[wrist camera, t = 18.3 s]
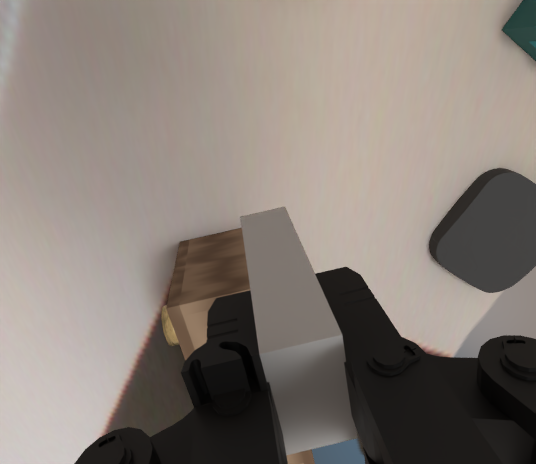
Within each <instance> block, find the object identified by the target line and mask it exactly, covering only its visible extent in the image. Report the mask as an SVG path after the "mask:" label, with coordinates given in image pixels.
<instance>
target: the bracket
mask: <svg viewBox="0 0 536 464" xmlns="http://www.w3.org/2000/svg"><path fill="white" fill-rule="evenodd" d="M502 31H503V32H504V33H505V34H507V35H508V36H509V37H510V38H511V39H512V40H513V41H514V42H515V43H516V44H518V45H519V46H520V47H521V48H522V49H523V50H524V51H525V52H526V53H527V54H529V55H530V56H531V57H532V58H533V59H534V60H535V61H536V0H523V1H522V3H521V4H520V5H519V7H518V8H517V9H516V11H515V12H514V14H513V15H512V16H511V18H510V19H509V20H508V22H507V23H506V24H505V26H504V27H503V29H502Z"/></svg>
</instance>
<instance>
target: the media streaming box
mask: <svg viewBox="0 0 536 464" xmlns="http://www.w3.org/2000/svg"><path fill="white" fill-rule="evenodd" d="M430 252H431V255H432V256H433V258H434V259H435V260H436V261H437V262H438V263H439V264H440V265H442V266H443V267H444V268H445V269H447V270H448V271H450V272H451V273H453V274H454V275H456V276H457V277H459V278H460V279H462V280H463V281H465V282H467V283H468V284H470V285H472V286H474V287H476V288H478V289H480V290H482V291H484V292H487V293H494V292H499V291H502V290H505V289H507V288H510V287H511V286H513V285H514V284H516V283H517V282H518V281H520V280H521V279H522V278H523V277H524V276H525V275H526V274H528V273H529V272H530V271H531V270H532V269H533V268H534V267H535V266H536V184H535V183H533V182H532V181H530V180H529V179H527V178H526V177H524V176H522V175H521V174H518V173H516V172H513V171H511V170H508V169H502V168H499V169H493V170H490V171H488V172H486V173H484V174H482V175H481V176H480V177H478V178H477V179H476V181H475V182H474V183H473V184H472V185H471V186H470V187H469V188H468V190H467V191H466V192H465V193H464V194H463V195H462V196H461V198H460V199H459V200H458V201H457V202H456V204H455V205H454V206H453V207H452V209H451V210H450V211H449V212H448V214H447V215H446V216H445V217H444V219H443V220H442V221H441V223H440V224H439V225H438V227H437V228H436V229H435V231H434V232H433V234H432V236H431V239H430Z"/></svg>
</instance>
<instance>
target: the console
mask: <svg viewBox="0 0 536 464" xmlns="http://www.w3.org/2000/svg"><path fill="white" fill-rule="evenodd" d="M249 290H250V283H249V276H248V269H247V261H246V254H245V247H244V240H243V233H242V228H239V229H235V230H230V231H226V232H222V233H217V234H213V235H208V236H204V237H200V238H195V239H191V240H186V241H182V242H180V244H179V249H178V254H177V258H176V263H175V268H174V273H173V278H172V282H171V287H170V292H169V297H168V302H167V306H166V309H167V312H168V315H169V318H170V320H171V323H172V326H173V328H174V331H175V334H176V336H177V339H178V342H179V344H180V347H181V350H182V353H183V355H184V358H185V361H186V360H187V358H188V357H189V356H190V355H191V354H192V353H193V351H195V350H196V349H197V348H199V347H200V346H202V345H203V344H205V343H206V341H207V328H208V327H207V317H208V310H209V309H210V307H211V305H212V304H213V302H214V301H215V299H216V298H219V297H223V296H228V295H232V294H236V293H241V292H245V291H249ZM286 456H287V461H288V464H315V463H314V459H313V454H312V449H310V450H306V451H302V452H298V453H294V454H290V455H286Z"/></svg>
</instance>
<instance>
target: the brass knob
mask: <svg viewBox="0 0 536 464" xmlns="http://www.w3.org/2000/svg"><path fill="white" fill-rule="evenodd" d="M166 306H167V305H166ZM166 306H163V308H162V326H163V331H164V335H165V338H166V340H167V342H168V344H169V345H170V346H174V345H178V344H179V342H178V339H177V336H176V334H175V331H174V328H173V326H172V323H171V320H170V318H169V315H168V312H167V309H166Z"/></svg>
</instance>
